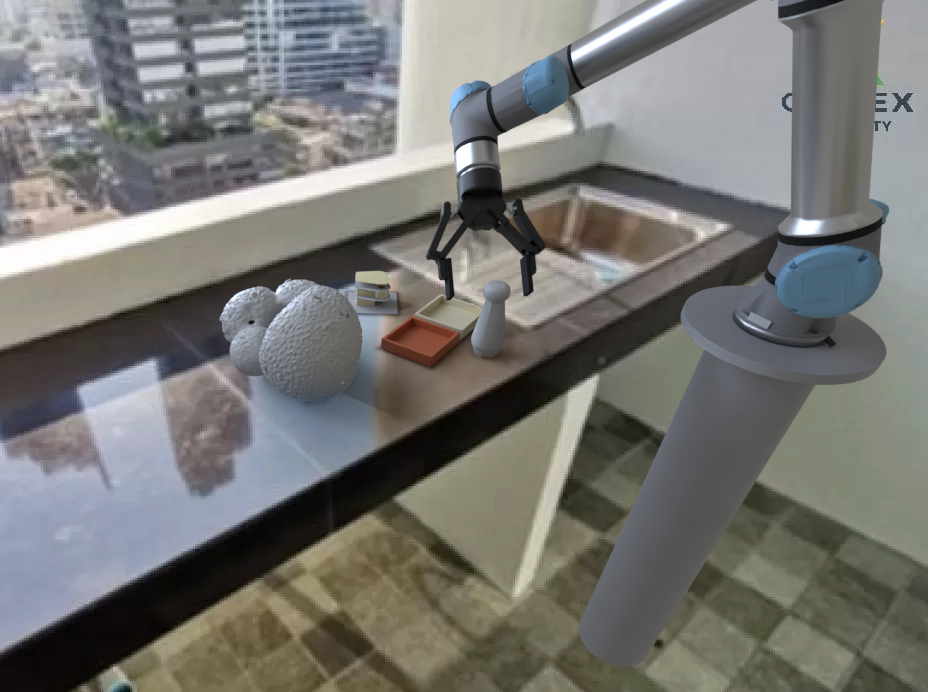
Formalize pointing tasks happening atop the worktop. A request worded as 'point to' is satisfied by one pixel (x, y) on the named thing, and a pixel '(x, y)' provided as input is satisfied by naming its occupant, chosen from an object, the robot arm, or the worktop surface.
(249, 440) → the worktop surface
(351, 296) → the stacked layers on plate
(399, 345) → the terracotta tray
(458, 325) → the ivory tray
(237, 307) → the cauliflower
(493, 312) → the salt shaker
